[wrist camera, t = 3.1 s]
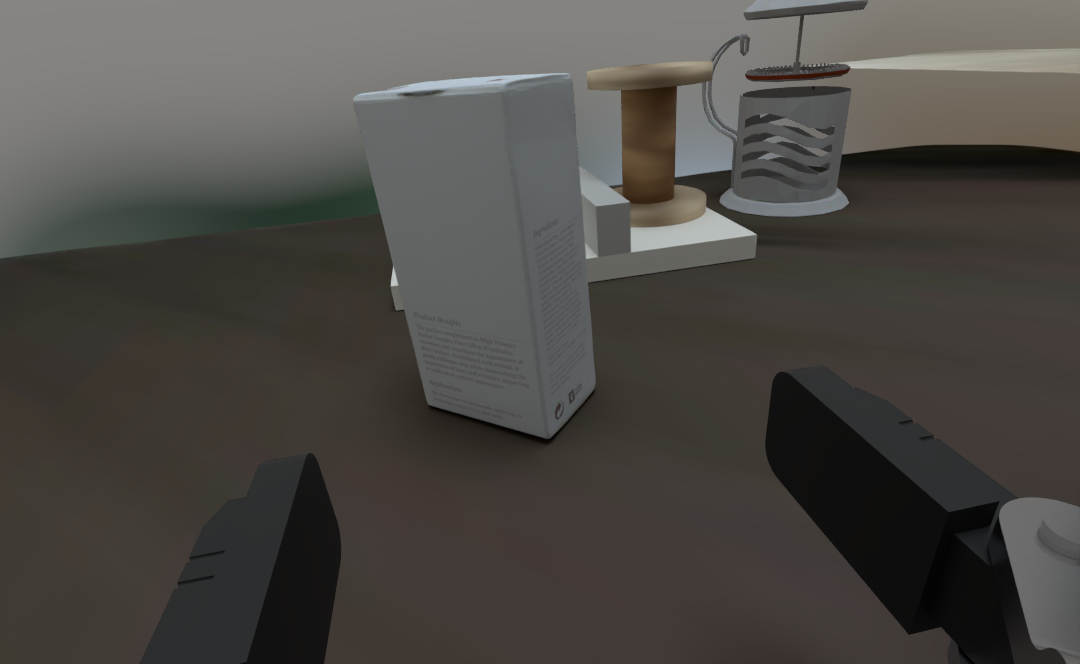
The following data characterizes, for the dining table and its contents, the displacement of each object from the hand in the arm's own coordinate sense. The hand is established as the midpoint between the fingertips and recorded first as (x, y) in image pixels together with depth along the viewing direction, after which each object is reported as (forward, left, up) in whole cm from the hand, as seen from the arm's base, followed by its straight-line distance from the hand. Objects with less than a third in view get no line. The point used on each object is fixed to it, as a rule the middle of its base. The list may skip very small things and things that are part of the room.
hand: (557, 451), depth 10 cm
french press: (-25, -35, -7) cm, 43 cm away
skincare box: (0, -12, -7) cm, 14 cm away
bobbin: (-13, -31, -5) cm, 34 cm away
